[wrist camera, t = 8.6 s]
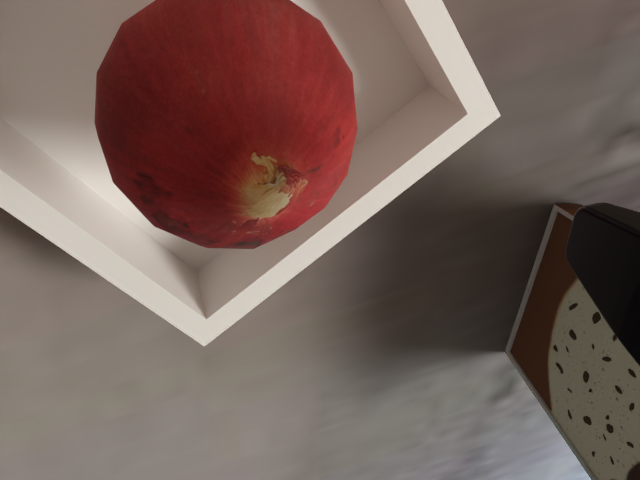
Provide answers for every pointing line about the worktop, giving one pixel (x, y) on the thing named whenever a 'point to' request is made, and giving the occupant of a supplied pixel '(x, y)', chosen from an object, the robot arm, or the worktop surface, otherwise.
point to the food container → (577, 362)
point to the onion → (225, 118)
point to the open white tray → (179, 254)
